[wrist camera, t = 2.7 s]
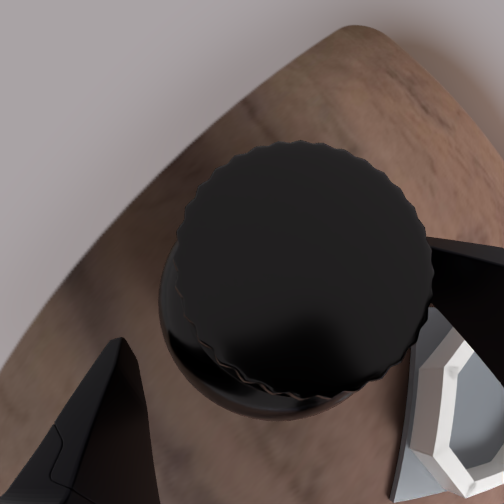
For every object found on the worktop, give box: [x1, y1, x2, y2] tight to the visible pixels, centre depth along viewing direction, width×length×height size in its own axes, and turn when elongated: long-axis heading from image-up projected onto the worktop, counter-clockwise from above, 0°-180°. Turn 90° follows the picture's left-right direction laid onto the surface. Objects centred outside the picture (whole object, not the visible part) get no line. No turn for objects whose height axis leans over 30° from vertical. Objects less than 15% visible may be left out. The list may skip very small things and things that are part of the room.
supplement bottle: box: [158, 140, 435, 421], centre depth 11 cm, size 7×7×12 cm
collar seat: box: [389, 307, 504, 503], centre depth 14 cm, size 12×12×3 cm
